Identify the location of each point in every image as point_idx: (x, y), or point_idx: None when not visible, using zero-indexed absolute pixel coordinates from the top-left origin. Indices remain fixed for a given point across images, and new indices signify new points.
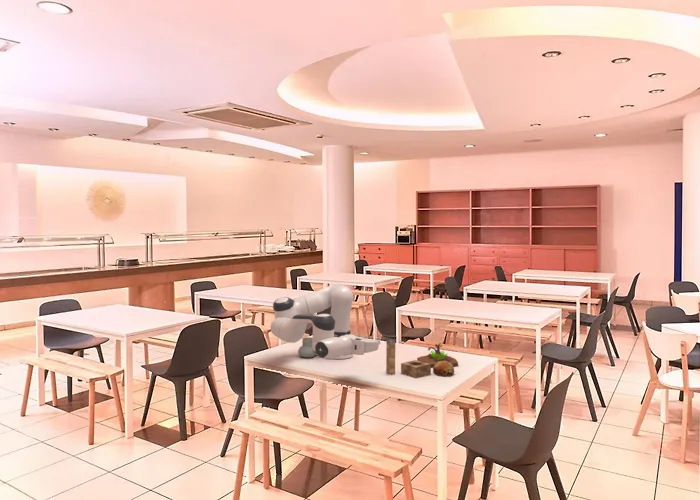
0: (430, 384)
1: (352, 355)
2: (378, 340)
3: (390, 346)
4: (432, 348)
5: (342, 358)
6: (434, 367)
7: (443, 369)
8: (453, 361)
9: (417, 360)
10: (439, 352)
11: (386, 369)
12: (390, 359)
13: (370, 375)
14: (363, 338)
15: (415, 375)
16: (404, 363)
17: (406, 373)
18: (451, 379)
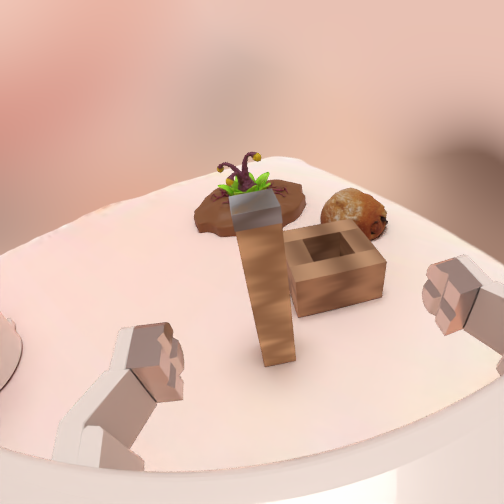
0: None
1: (19, 336)
2: (462, 263)
3: (279, 239)
4: (235, 175)
5: (7, 379)
6: None
7: (380, 215)
8: (292, 185)
9: (200, 230)
10: (250, 178)
11: (263, 354)
12: (288, 306)
13: (250, 447)
14: (442, 481)
15: (378, 290)
16: (305, 273)
17: (330, 304)
18: (412, 231)
